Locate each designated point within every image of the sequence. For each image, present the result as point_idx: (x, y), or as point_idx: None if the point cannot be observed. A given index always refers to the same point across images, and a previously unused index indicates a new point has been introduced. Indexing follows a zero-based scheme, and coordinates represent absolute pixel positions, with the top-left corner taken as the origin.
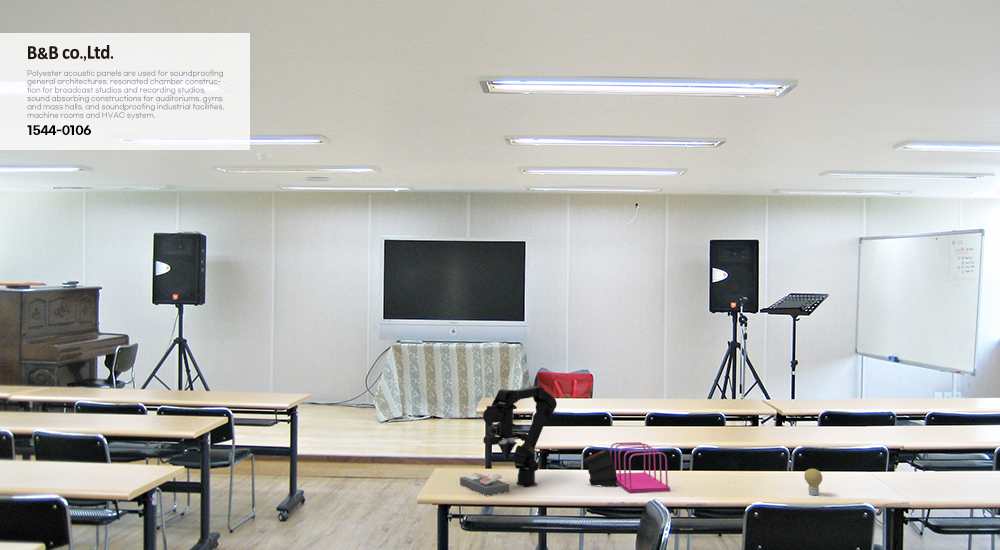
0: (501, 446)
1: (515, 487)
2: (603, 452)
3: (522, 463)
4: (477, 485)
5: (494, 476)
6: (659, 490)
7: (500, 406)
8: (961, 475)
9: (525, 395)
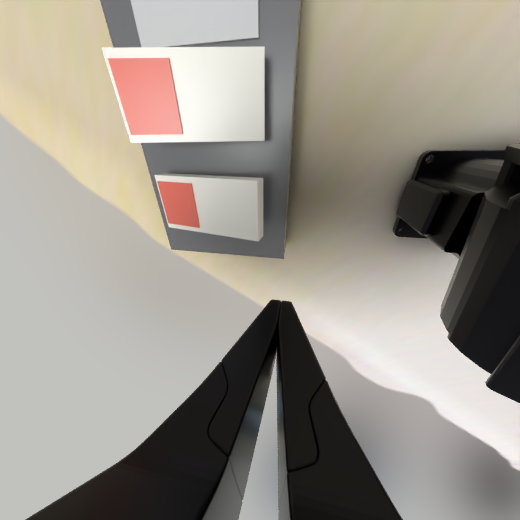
0: (164, 477)
1: (358, 206)
2: None
3: (445, 306)
4: (154, 179)
5: (228, 210)
6: None
7: None
8: None
9: None
